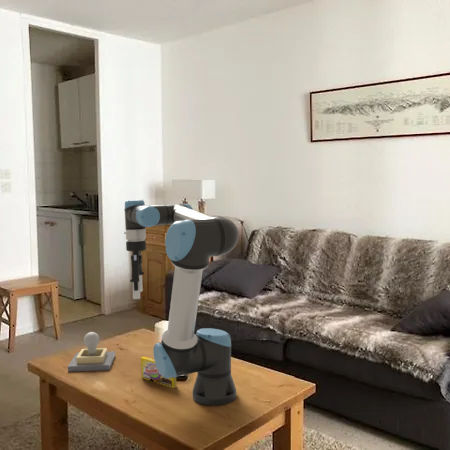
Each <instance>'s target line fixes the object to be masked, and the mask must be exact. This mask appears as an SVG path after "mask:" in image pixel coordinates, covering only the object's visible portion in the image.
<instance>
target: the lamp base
mask: <svg viewBox="0 0 450 450" xmlns="http://www.w3.org/2000/svg"><path fill="white" fill-rule="evenodd" d="M115 357H116V351H115V350H112V351H108V348H107V347H99V348H98V347H96V354H95V356H89V353H88V349H87V348H81V349H80V351H79V352H76V353H75V354H74V356H73V357H72V359H71V361H70V363H69V364H68V366H67V372H68V371H69V372H88V371H89V372H91V371H92V372H93V371H94V372H95V371H96V372H97V371H110V369H111V367H112V364H113V362H114V360H115Z"/></svg>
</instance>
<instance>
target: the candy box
mask: <svg viewBox="0 0 450 450" xmlns="http://www.w3.org/2000/svg"><path fill="white" fill-rule="evenodd" d="M140 370H141V379H142V380H143V379H144V380H147V381H149V380H151V379H152V380H153V381H154V383H155V382H157V383H156V384H159V383H160V384H159V385H162V384H163V386H165V385H166V386H165V387H168V386H169V388H171V389H175V388H177V387H178V386H177V377H176V378H175V377H173V378H164V377H163V376H162V375H161V374H160V373H159V371H158V369H157V366H156V363H155V359H154V358H151V357H147V356H142V357H140Z"/></svg>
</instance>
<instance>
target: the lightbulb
mask: <svg viewBox="0 0 450 450" xmlns="http://www.w3.org/2000/svg"><path fill="white" fill-rule="evenodd" d="M83 343H84V345H85V347H86V349H88V353H89V356H95V354H96V348H98V345H99V344H100V336H99V335H98V333H96V332H94V331H89V332H88V333H86V334H85V335H84V337H83Z"/></svg>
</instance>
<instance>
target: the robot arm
mask: <svg viewBox="0 0 450 450" xmlns="http://www.w3.org/2000/svg"><path fill="white" fill-rule="evenodd" d="M123 210H124V220H125V221H124V222H125V226H124V227H125V231H123V234H124V235H125V240H126V242H125V245H126V246H125V249H126V251H127V252H132V254H131V256H130V261H131V263H130V264H131V279H130V280H129V282H130V283H131V284H132V285H131V286H132V300H140V299H141V292H143V291H144V290H143V289H144V288H143V287H144V286H143V284H144V283H143V275H145V272H144V271H143V266H142V265H143V254H142V252H143V251H146V250H147V241H146V240H147V234H146V233H147V230H146V228H149V227H150V228H152V227H155V226H168V225H169V228H168V230H167V232H166V235H165V238H164V239H165V240H164V246H165V253H166V255H167V257H168V259H170V263H171V264H172V265H173V266H174V272H173V280H172V287H171V288H172V289H171V296H170V297H171V298H170V299H171V300H170V307H169V314H168V324H167V330H165V331H164V332H163V333H162V335H161V341H160V342H157V343H155V344H154V345H153V352H152V353H153V359H155V363H156V366H157V369H158V371H159V373H160V374H161V375H162V376H163V377H164V378H173V377H175V378H176V379H177V378H178V377H182V376H185V375H189V374H195V373H196V378H195V382H194V385H193V388H192V400H194V401H195V402H196V403H198V404H200V405H205V406H212V407H213V406H223V405H227V404H230V403H232V402H234V401H235V400H236V398H237V388H236V385H235V382H234V379H233V375H232V339H231V335H230V333H228V332H227V331H225V330H222V329H218V328H209V327H208V328H204V327H202V328H199V329H197V330H196V334H195V329H196V328H195V327H196V321H197V314H198V308H199V300H200V299H199V298H200V292H201V286H202V279H203V277H202V276H203V271H204V270H206V269H207V268H209V264H210V262H209V261H210V259H211V257H218V256H219V257H221V256H223V255H226V254H227V255H228V253H230V252H231V251H232V250H234V248H235V247H236V246H237V244H238V242H239V237H240V234H239V229H238V227H237V225H236V224H235V222H233V220H231V219H229V218H227V217H223V216H211V215H208V214H206V213H202V212H200V211H197V210H196V209H193V207H192V205H190V204H189V203H178V204H175V203H174V204H155V205H154V204H151V205H146V204H145V201H144V199H127V200H125V201H124V209H123Z"/></svg>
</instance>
